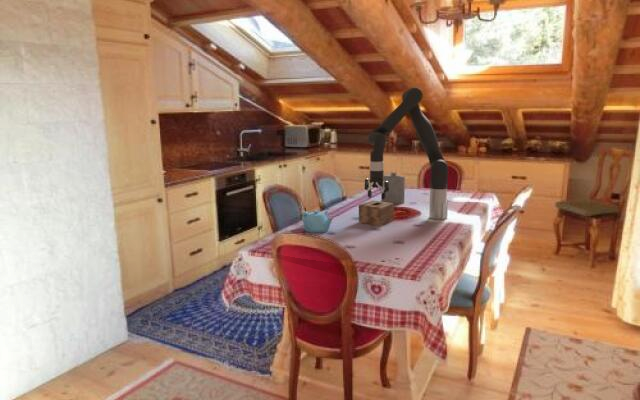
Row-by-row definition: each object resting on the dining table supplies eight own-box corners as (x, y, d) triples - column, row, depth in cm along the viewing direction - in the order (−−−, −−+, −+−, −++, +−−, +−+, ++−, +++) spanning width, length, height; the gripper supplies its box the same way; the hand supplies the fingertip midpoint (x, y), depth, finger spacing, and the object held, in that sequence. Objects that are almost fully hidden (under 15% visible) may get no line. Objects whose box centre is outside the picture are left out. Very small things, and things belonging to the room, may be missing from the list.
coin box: (393, 220, 269) (393, 203, 266) (380, 226, 258) (380, 208, 256) (372, 217, 277) (372, 200, 275) (358, 222, 267) (358, 204, 264)
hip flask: (380, 201, 318) (380, 171, 314) (382, 200, 322) (383, 170, 317) (403, 203, 310) (403, 173, 306) (405, 202, 314) (406, 172, 310)
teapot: (329, 225, 261) (329, 206, 259) (333, 233, 246) (332, 212, 244) (301, 227, 259) (300, 207, 257) (303, 234, 245) (302, 214, 242)
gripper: (391, 169, 260) (391, 198, 263) (369, 167, 269) (369, 195, 272) (384, 171, 254) (384, 201, 258) (361, 169, 263) (361, 198, 266)
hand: (376, 198), depth 265 cm, fingers open, 8 cm apart
